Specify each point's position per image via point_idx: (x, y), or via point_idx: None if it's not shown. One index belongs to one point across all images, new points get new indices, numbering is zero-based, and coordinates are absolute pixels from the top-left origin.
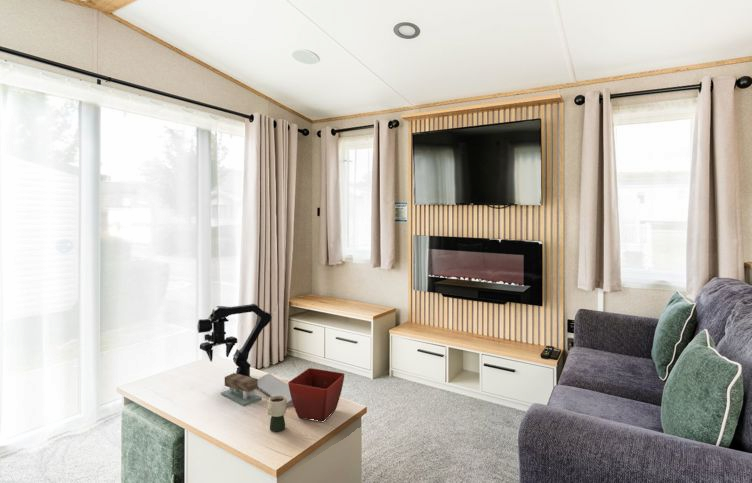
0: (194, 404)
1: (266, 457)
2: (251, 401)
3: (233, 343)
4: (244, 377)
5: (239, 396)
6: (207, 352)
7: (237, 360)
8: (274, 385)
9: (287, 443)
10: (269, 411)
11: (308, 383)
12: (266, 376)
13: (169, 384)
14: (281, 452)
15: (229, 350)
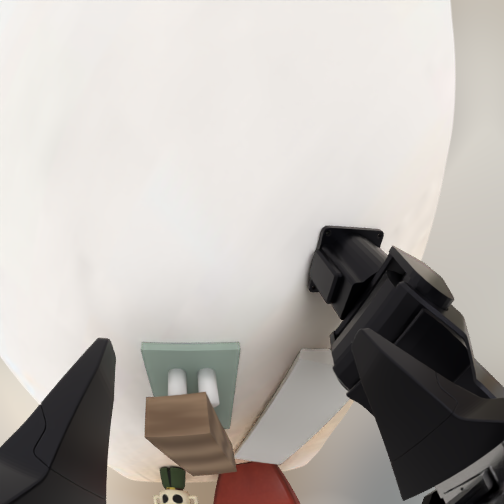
0: (35, 334)
1: (127, 475)
2: None
3: (431, 496)
4: (212, 461)
5: None
6: (23, 459)
7: (347, 385)
8: (296, 424)
9: None
10: (155, 501)
11: (281, 491)
12: None
13: (23, 11)
14: (146, 478)
15: (384, 436)
